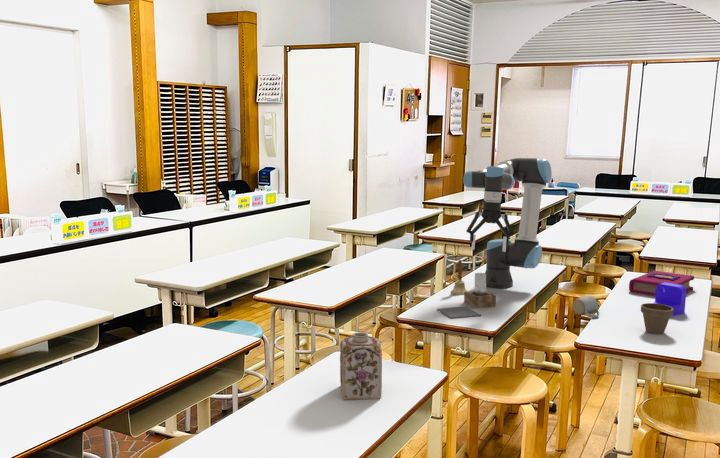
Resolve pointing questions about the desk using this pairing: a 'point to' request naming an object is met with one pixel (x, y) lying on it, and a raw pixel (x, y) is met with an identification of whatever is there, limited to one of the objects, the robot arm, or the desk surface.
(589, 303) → the ceramic mug
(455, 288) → the hand bell
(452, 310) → the mat
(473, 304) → the bore block
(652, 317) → the flower pot
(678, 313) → the bracket
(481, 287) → the plug
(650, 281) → the book
